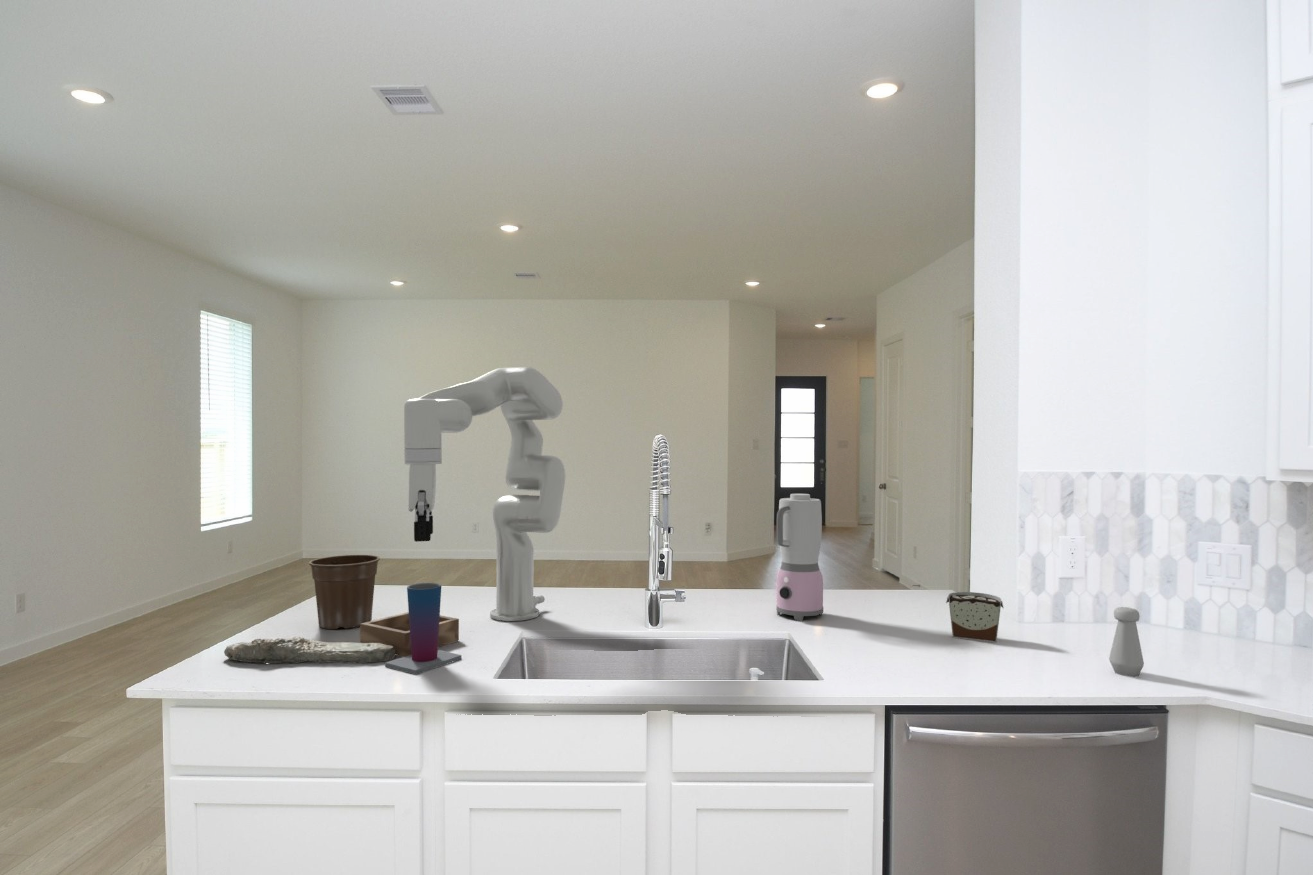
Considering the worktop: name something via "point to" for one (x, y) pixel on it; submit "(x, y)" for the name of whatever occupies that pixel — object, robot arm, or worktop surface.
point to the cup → (424, 620)
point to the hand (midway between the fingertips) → (423, 537)
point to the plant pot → (344, 589)
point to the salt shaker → (1126, 643)
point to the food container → (974, 615)
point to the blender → (799, 556)
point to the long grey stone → (308, 651)
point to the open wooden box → (404, 632)
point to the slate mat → (418, 667)
